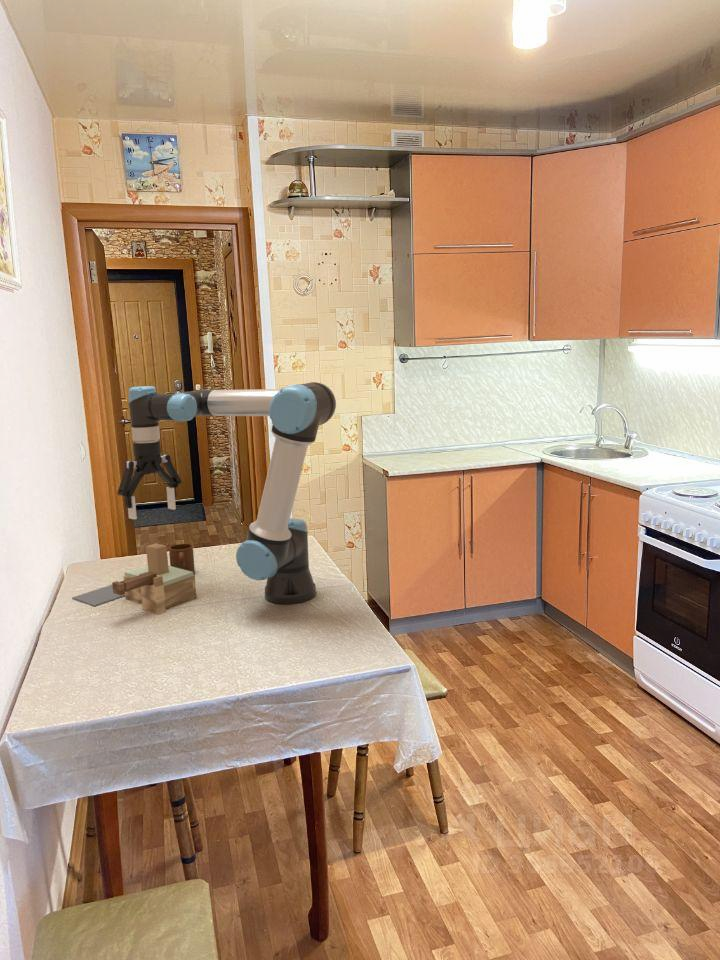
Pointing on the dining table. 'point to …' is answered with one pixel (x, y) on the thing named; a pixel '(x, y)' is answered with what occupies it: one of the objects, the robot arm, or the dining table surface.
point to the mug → (182, 557)
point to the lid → (160, 566)
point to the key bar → (133, 583)
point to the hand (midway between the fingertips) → (152, 513)
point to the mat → (98, 596)
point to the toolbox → (163, 594)
